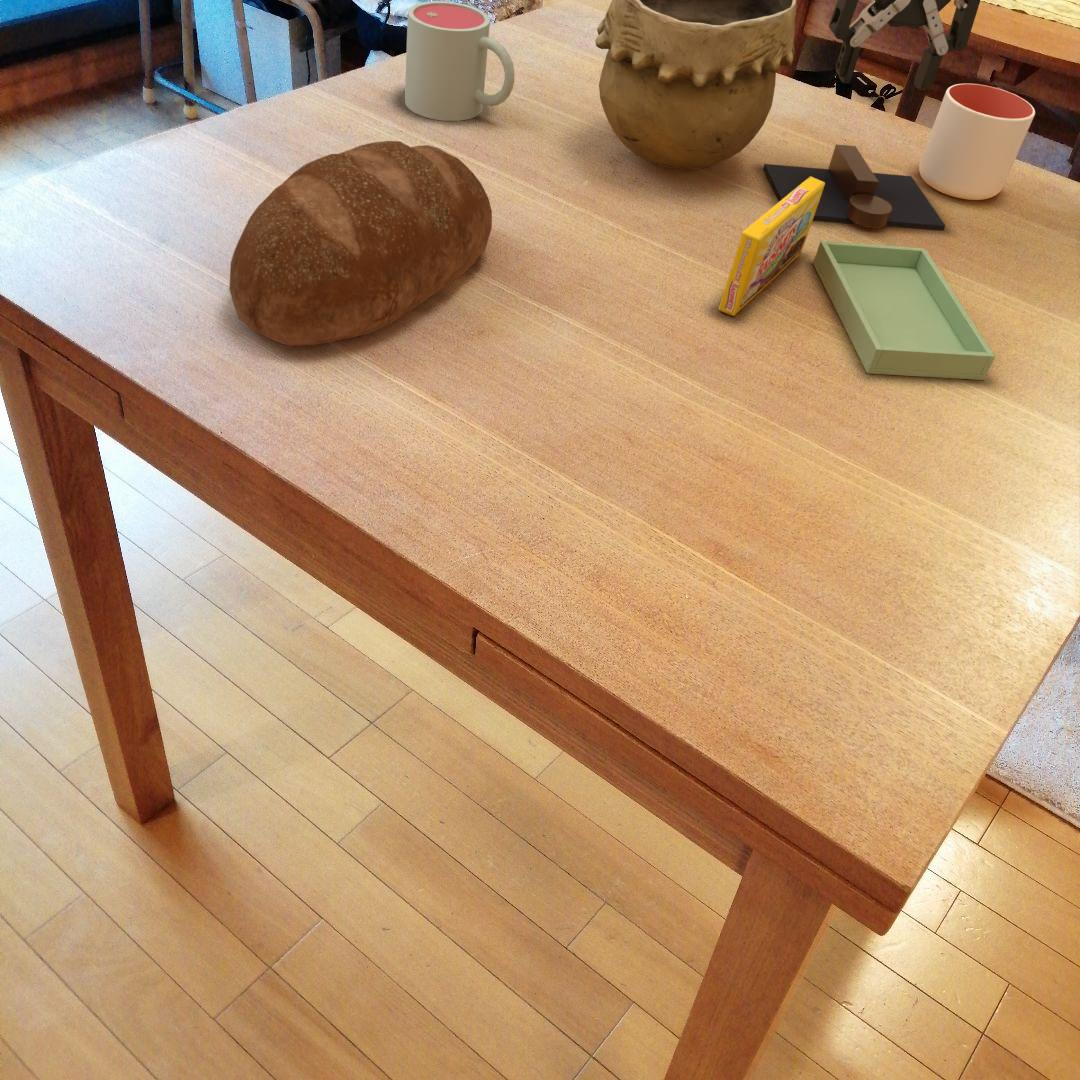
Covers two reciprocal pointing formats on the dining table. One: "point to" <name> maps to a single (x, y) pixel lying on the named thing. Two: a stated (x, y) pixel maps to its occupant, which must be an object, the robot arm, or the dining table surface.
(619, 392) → the dining table surface
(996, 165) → the cup
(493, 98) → the mug
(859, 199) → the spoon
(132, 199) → the dining table surface
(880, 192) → the mat
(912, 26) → the robot arm
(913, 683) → the dining table surface
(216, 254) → the dining table surface
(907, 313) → the tray
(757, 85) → the clay pot
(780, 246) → the candy box
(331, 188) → the bread
